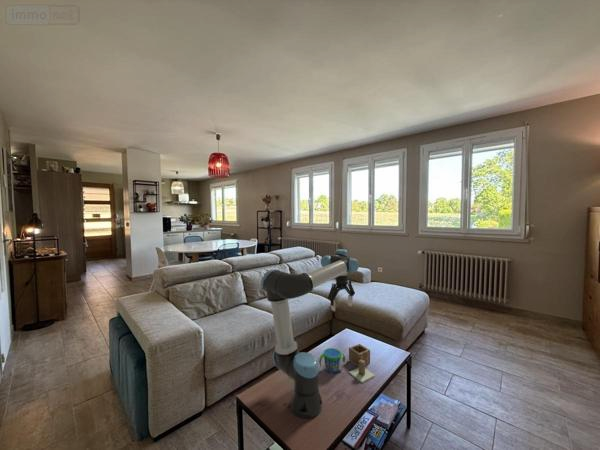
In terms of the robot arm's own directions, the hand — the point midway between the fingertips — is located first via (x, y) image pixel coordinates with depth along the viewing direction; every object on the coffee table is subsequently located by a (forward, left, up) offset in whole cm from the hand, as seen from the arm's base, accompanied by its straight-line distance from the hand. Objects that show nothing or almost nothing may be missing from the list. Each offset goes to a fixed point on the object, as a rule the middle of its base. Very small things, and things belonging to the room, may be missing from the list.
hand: (341, 308), depth 157 cm
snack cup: (-12, -5, -33) cm, 35 cm away
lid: (-1, -18, -33) cm, 38 cm away
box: (+7, -8, -33) cm, 34 cm away
